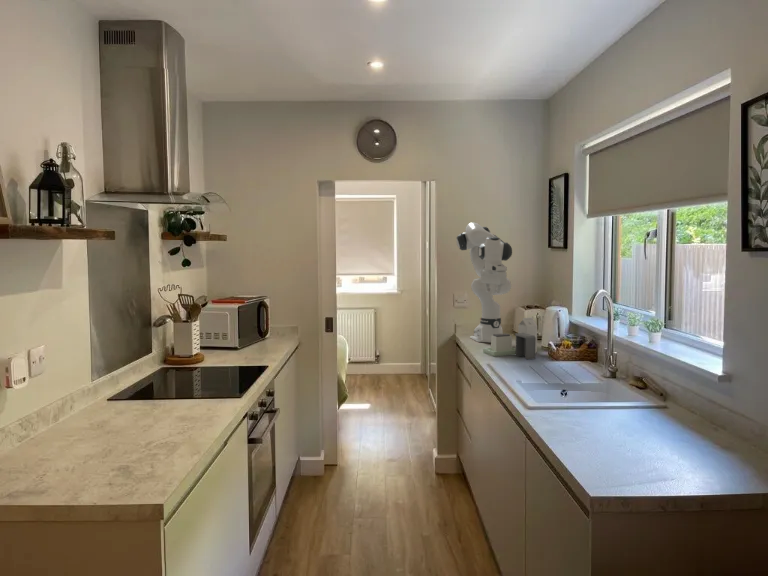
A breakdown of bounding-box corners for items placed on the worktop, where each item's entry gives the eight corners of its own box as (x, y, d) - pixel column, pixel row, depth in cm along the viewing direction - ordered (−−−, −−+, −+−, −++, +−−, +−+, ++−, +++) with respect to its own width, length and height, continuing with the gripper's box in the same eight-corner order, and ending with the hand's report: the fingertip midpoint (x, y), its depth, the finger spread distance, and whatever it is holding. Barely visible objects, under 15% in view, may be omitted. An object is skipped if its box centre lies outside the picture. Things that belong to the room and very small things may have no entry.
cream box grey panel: (490, 352, 299) (491, 334, 299) (506, 350, 303) (506, 333, 302) (496, 353, 295) (496, 335, 294) (511, 352, 298) (512, 334, 298)
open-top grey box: (514, 355, 292) (515, 333, 291) (524, 354, 294) (524, 332, 293) (525, 359, 283) (525, 336, 282) (535, 358, 286) (535, 335, 285)
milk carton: (518, 351, 303) (518, 317, 302) (528, 350, 306) (528, 316, 305) (526, 353, 297) (527, 319, 295) (536, 352, 300) (537, 318, 298)
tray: (483, 352, 301) (483, 348, 301) (507, 350, 307) (507, 346, 307) (494, 356, 291) (494, 352, 291) (519, 354, 297) (519, 349, 296)
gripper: (478, 266, 306) (478, 291, 307) (498, 267, 287) (498, 294, 288) (487, 266, 308) (487, 290, 309) (508, 267, 289) (508, 293, 290)
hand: (493, 292), depth 299 cm, fingers open, 8 cm apart
